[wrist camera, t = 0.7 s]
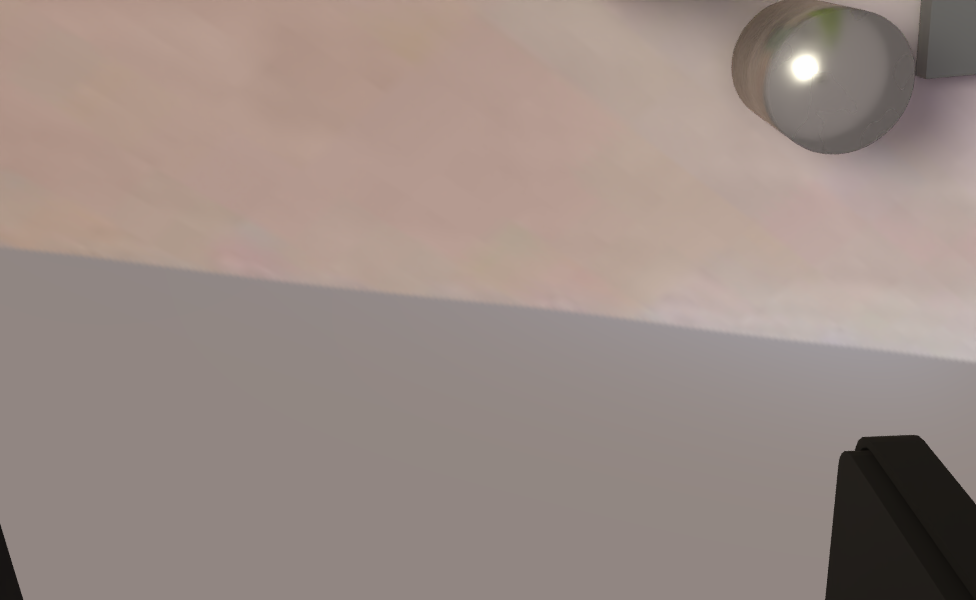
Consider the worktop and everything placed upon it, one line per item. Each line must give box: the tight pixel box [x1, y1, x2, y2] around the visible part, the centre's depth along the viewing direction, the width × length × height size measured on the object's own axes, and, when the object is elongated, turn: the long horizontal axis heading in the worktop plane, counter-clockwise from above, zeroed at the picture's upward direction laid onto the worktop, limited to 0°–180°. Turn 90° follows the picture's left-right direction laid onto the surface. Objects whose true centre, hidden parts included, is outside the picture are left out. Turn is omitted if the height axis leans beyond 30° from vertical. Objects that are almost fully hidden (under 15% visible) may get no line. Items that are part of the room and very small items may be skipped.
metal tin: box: [731, 0, 915, 154], centre depth 35 cm, size 5×5×6 cm
